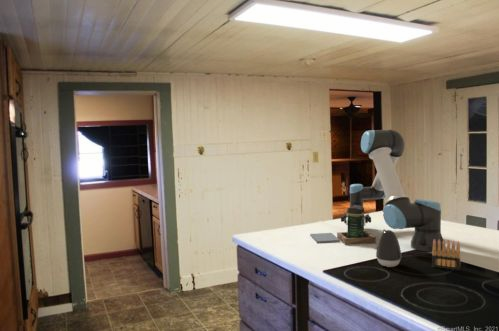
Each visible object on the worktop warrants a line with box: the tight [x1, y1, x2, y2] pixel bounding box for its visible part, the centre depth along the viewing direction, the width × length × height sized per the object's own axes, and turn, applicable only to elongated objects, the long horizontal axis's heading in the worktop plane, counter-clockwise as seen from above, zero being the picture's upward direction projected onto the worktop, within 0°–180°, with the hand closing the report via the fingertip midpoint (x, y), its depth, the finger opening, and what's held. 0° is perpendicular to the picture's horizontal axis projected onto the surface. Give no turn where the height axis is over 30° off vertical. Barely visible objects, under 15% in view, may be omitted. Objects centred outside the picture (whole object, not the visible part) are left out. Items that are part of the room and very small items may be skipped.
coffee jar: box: [346, 205, 365, 238], centre depth 216 cm, size 10×8×19 cm
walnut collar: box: [336, 230, 377, 246], centre depth 217 cm, size 14×16×3 cm
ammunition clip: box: [431, 239, 462, 269], centre depth 169 cm, size 11×2×12 cm, turn 59°
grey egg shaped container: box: [375, 229, 402, 268], centre depth 176 cm, size 10×10×15 cm
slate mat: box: [310, 232, 341, 244], centre depth 223 cm, size 16×12×1 cm
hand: (355, 222), depth 212 cm, fingers closed on coffee jar, 8 cm apart
